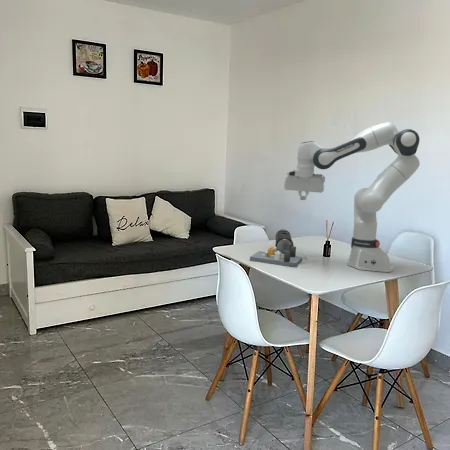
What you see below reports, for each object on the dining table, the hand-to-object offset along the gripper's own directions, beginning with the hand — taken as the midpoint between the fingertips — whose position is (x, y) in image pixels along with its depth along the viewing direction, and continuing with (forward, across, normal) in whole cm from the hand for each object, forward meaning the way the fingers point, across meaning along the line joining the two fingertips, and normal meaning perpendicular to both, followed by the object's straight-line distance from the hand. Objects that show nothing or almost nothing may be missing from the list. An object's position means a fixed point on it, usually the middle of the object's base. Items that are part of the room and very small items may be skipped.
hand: (303, 199), depth 238 cm
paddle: (+29, +12, +12) cm, 33 cm away
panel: (+31, +9, +12) cm, 34 cm away
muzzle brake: (+31, +11, -8) cm, 34 cm away
